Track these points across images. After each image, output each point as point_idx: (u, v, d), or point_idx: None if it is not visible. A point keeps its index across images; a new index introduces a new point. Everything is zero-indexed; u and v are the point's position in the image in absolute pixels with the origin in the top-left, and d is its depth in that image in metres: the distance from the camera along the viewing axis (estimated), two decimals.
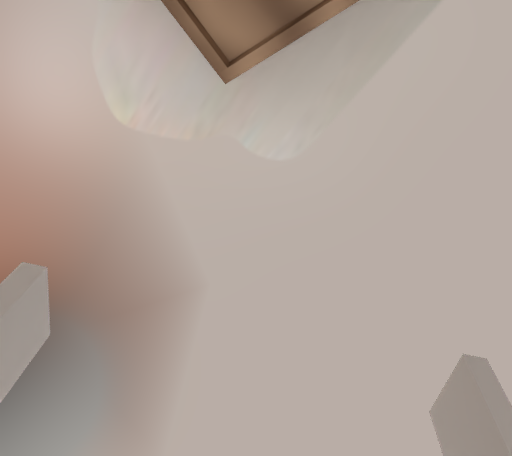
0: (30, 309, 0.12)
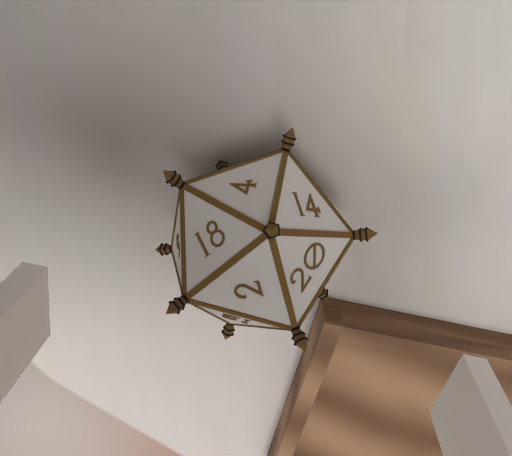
0: (30, 309, 0.12)
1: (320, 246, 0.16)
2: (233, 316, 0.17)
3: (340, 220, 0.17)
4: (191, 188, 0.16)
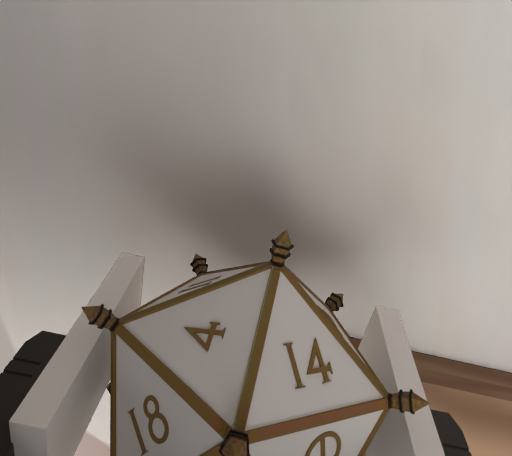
0: (133, 294, 0.14)
1: (333, 435, 0.10)
2: None
3: (367, 378, 0.11)
4: (126, 333, 0.10)
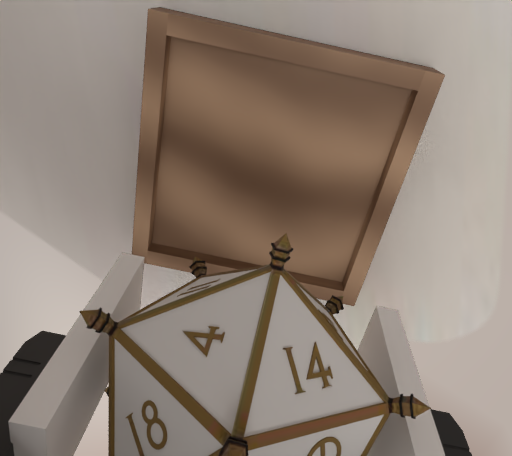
0: (132, 294, 0.14)
1: (333, 440, 0.10)
2: None
3: (368, 382, 0.10)
4: (124, 337, 0.10)
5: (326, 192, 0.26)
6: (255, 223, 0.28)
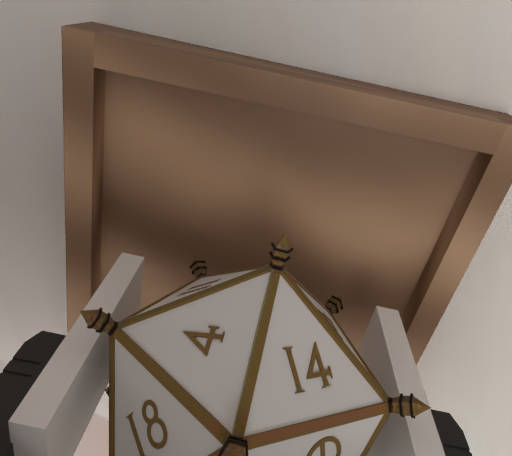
0: (132, 294, 0.14)
1: (333, 439, 0.10)
2: None
3: (368, 382, 0.10)
4: (124, 337, 0.10)
5: (343, 287, 0.18)
6: None
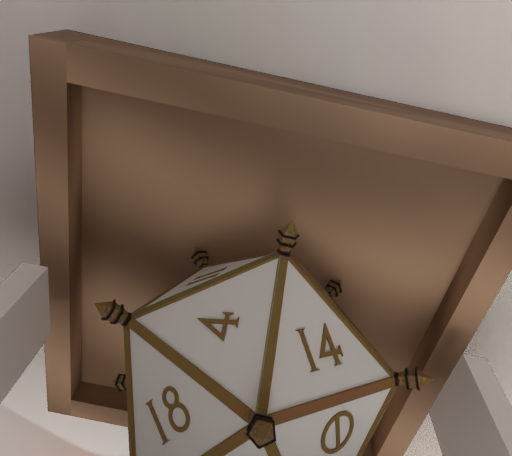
0: (30, 309, 0.12)
1: (346, 414, 0.10)
2: None
3: (375, 359, 0.11)
4: (140, 327, 0.11)
5: None
6: None
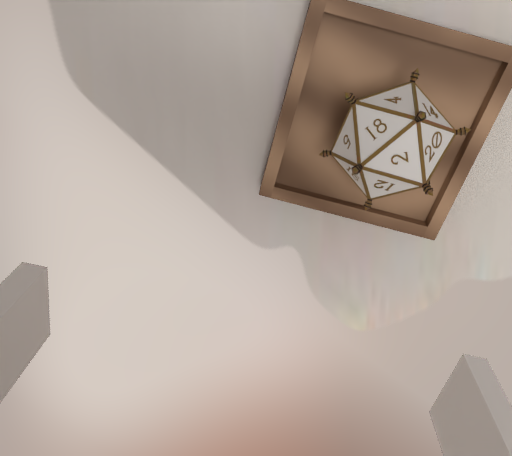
0: (30, 309, 0.12)
1: (439, 134, 0.27)
2: (384, 181, 0.28)
3: (448, 123, 0.28)
4: (360, 103, 0.28)
5: None
6: None
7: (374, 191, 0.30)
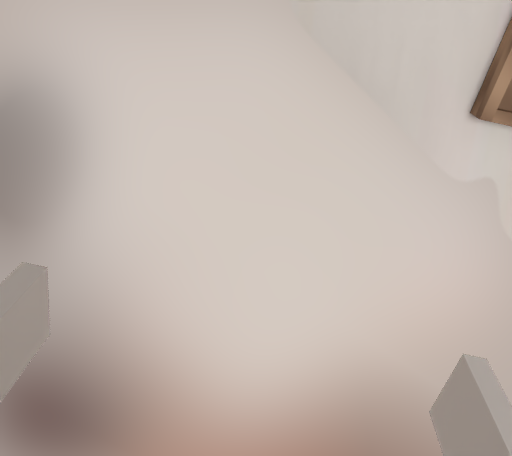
0: (30, 309, 0.12)
1: None
2: None
3: None
4: None
5: None
6: None
7: None
